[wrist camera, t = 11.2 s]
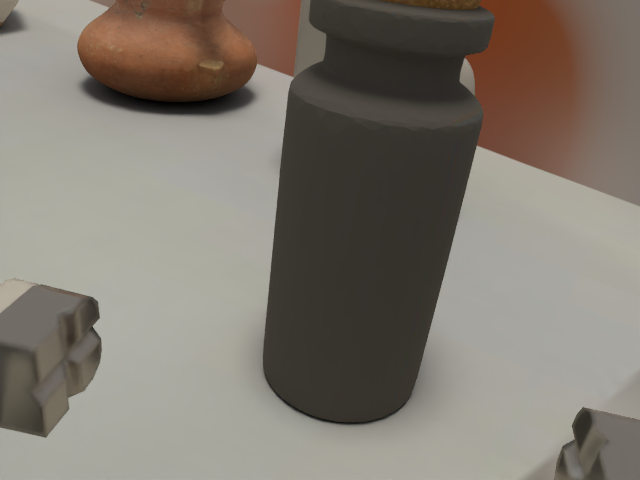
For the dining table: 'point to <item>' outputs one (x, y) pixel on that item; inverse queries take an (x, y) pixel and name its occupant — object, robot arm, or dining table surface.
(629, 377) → the dining table surface
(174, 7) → the ceramic jug
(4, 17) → the pan
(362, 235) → the bottle
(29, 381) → the robot arm
